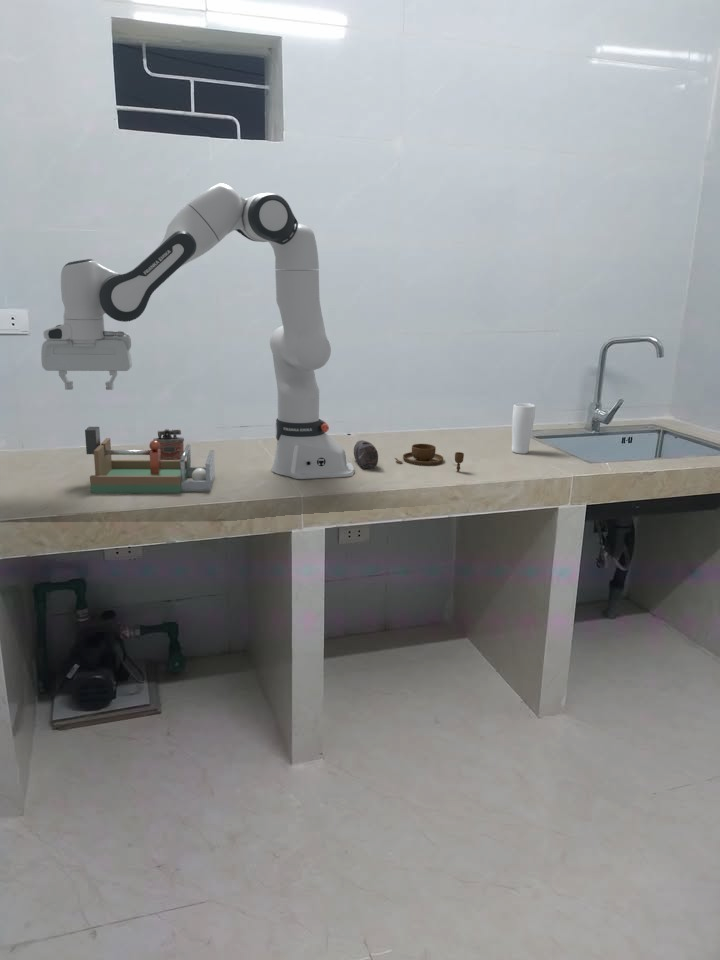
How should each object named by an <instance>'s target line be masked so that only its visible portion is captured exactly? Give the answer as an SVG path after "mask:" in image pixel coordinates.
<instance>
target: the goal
mask: <svg viewBox="0 0 720 960" xmlns="http://www.w3.org/2000/svg"><path fill="white" fill-rule="evenodd" d="M185 460H187V478H192V473H193V471H194V470H195V469H197V468H203V469H205V470H206V481H193V480H186V481H185ZM180 467H181V493H183V492H193V493H194V492H196V493H197V492H199V493H200V492H202V493H204V492H205V493H206V492H209V493H210V492H211V490H212V487H213V483H214V480H215V477H216V475H215V473H216V472H215V450H213V449H210V450H209V452H208V455H207V459H206V461H205V464H204V466H192V459H191V444H189V443H188V444H187V445H185V448H184V452H183V454H182V456H181V458H180Z"/></svg>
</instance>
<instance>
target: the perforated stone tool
mask: <svg viewBox="0 0 720 960" xmlns="http://www.w3.org/2000/svg"><path fill="white" fill-rule="evenodd" d="M353 458H354V459H355V460H356V462H357V463H358V465H359V466H361V467H363V468H364V469H365V468H366V469H370V468H375V467H376V466H377V465H378V462H379V453H378V451H377V448H376V447H375V446H374V445H373V444H372V443H371V442H369V441H366V440H358V441H357V442H355V445H354V447H353Z"/></svg>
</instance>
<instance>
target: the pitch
mask: <svg viewBox="0 0 720 960" xmlns="http://www.w3.org/2000/svg"><path fill="white" fill-rule="evenodd" d="M100 444H101V445H99V446H98V447H97V448H96V449H95V450H94V455H93V459H94V472H95V473H94V475H90V476H89V481H90V493H91V494H96V493H97V494H99V493H100V494H106V493H107V494H113V493H115V494H131V493H132V494H139V493H140V494H142V493H143V494H160V493H161V494H167V493H168V494H173V493H174V494H175V493H176V494H177V493H178V494H181V493H182V492H181V467H180V460H161V471H160V473H159V474H151V471H150V459H112V455H104V450H112V447H111V446H112V444H111V438H110V437H109V438H107V437H105V438H104V440H103V441H102V442H100ZM187 478H188V477H187V459H185V481H187Z"/></svg>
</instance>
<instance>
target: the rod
mask: <svg viewBox="0 0 720 960" xmlns="http://www.w3.org/2000/svg"><path fill="white" fill-rule="evenodd" d="M84 434H85V448H86V449H85V450H86V451H85V453H86V455H93V456H94V450H95V449H96V448H97V447H98V446H99V445H101V432H100V426H88V427H87V428H86V429H85V430H84ZM148 446H149V449H111V450H104V455H111V456H149V460H150V471H151V474H159V473H160V471H161V453H160V449H159V448H160V443H159V442H158V441H156V440H152V441H150V443H149V445H148Z"/></svg>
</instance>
